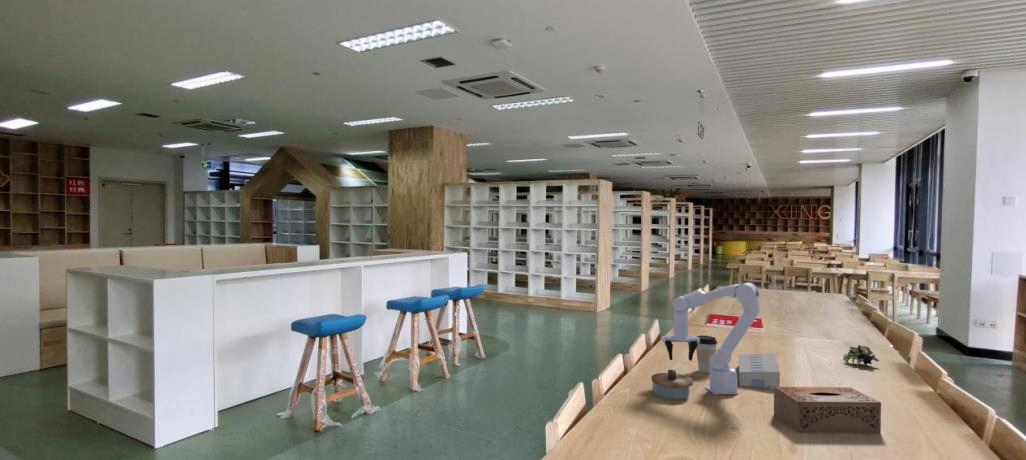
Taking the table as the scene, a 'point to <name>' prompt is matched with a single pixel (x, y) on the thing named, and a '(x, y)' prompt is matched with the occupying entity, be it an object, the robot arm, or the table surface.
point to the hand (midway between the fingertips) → (680, 359)
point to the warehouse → (759, 370)
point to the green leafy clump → (860, 355)
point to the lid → (672, 379)
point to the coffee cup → (705, 352)
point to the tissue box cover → (827, 410)
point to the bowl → (670, 392)
